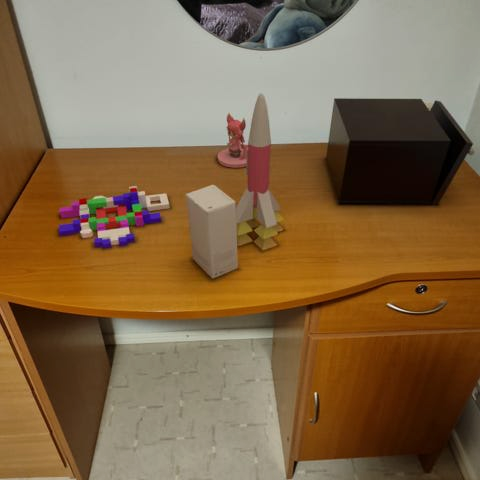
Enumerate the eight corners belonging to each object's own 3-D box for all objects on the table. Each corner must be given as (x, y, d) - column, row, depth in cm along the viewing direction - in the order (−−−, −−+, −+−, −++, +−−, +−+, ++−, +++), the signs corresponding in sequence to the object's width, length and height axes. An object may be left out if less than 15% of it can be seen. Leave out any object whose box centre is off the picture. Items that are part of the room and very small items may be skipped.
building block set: (59, 254, 101) (54, 236, 98) (61, 203, 115) (56, 186, 112) (177, 238, 106) (175, 220, 102) (165, 191, 120) (163, 174, 116)
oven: (405, 158, 133) (421, 98, 121) (429, 205, 116) (450, 140, 104) (325, 158, 133) (334, 98, 121) (338, 204, 116) (349, 140, 104)
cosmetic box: (238, 269, 98) (238, 202, 87) (210, 280, 95) (207, 212, 84) (217, 248, 103) (214, 182, 92) (190, 258, 100) (184, 192, 89)
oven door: (422, 161, 133) (452, 104, 122) (449, 207, 116) (486, 146, 105) (406, 157, 132) (435, 100, 122) (431, 204, 115) (466, 142, 105)
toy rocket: (294, 239, 106) (308, 97, 84) (247, 255, 101) (250, 111, 80) (264, 213, 113) (270, 77, 92) (219, 227, 108) (215, 88, 87)
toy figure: (210, 160, 131) (208, 116, 123) (233, 148, 137) (233, 105, 128) (237, 171, 127) (237, 126, 118) (260, 158, 132) (261, 114, 124)
